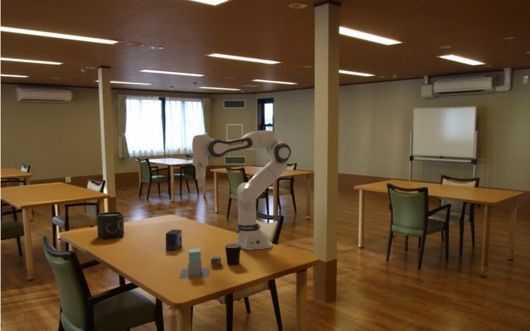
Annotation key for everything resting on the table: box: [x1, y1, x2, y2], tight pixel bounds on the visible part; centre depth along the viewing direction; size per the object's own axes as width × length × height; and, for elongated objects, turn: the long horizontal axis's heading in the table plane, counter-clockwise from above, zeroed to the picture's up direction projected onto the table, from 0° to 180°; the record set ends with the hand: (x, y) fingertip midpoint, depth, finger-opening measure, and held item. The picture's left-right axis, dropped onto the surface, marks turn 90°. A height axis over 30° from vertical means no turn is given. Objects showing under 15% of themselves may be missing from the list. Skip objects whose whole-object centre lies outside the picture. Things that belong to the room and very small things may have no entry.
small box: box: [165, 229, 183, 251], centre depth 245 cm, size 11×6×10 cm, turn 168°
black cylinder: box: [96, 211, 125, 240], centre depth 274 cm, size 18×18×16 cm
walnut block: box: [210, 254, 222, 268], centre depth 212 cm, size 5×5×5 cm
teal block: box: [188, 248, 202, 264], centre depth 200 cm, size 6×6×6 cm
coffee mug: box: [224, 242, 242, 266], centre depth 216 cm, size 12×9×10 cm
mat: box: [178, 267, 211, 280], centre depth 200 cm, size 14×14×1 cm
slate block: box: [187, 261, 203, 275], centre depth 200 cm, size 6×6×6 cm
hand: (200, 185), depth 234 cm, fingers open, 8 cm apart
